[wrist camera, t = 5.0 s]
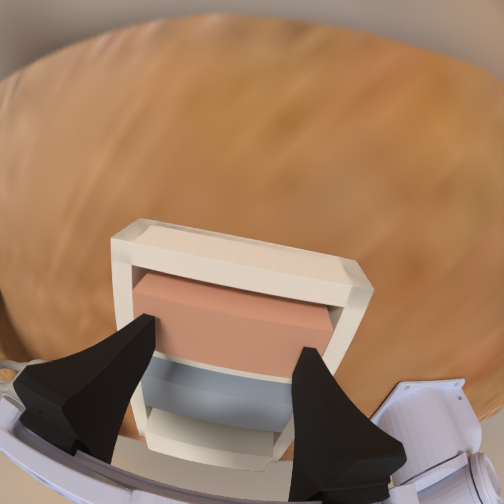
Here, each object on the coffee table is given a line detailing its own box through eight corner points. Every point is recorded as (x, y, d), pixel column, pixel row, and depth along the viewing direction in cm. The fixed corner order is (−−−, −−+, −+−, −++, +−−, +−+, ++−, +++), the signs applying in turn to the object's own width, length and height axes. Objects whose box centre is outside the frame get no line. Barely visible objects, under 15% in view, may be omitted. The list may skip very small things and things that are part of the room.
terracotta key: (325, 302, 14) (333, 330, 12) (306, 350, 16) (309, 380, 14) (151, 267, 14) (132, 290, 12) (151, 319, 16) (136, 345, 13)
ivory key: (273, 431, 18) (273, 457, 16) (263, 448, 20) (262, 472, 17) (153, 406, 18) (143, 431, 16) (156, 427, 19) (148, 449, 17)
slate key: (295, 375, 17) (297, 405, 14) (281, 405, 18) (281, 432, 16) (152, 347, 17) (139, 373, 14) (155, 380, 18) (144, 404, 16)
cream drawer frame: (355, 260, 16) (374, 290, 12) (277, 434, 23) (276, 462, 20) (140, 217, 15) (110, 237, 12) (150, 408, 23) (139, 435, 20)
